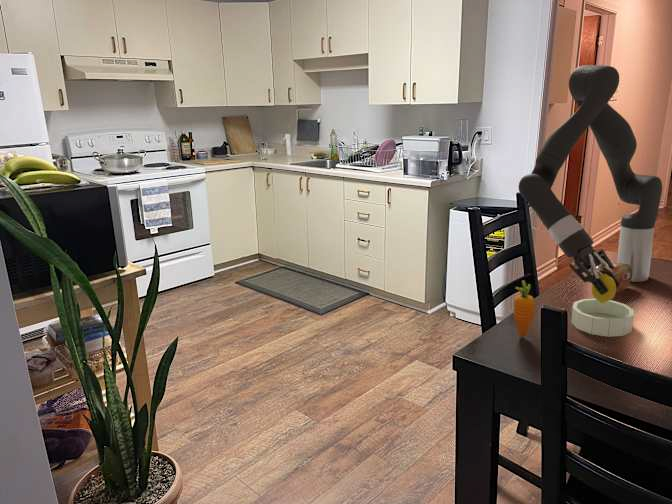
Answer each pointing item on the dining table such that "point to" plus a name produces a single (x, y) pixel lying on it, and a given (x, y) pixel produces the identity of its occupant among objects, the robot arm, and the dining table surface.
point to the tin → (621, 275)
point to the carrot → (523, 310)
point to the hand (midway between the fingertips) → (611, 289)
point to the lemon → (609, 284)
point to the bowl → (602, 317)
